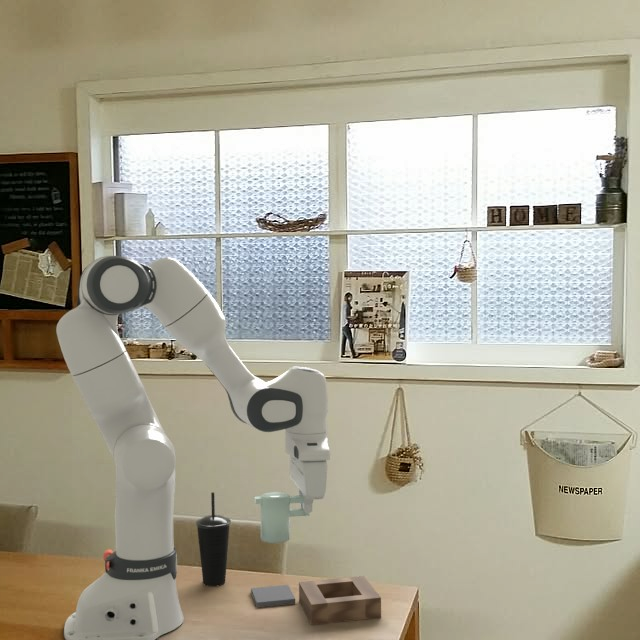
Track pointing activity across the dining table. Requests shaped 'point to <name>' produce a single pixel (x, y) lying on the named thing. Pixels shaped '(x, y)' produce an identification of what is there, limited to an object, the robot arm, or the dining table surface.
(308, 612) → the stand
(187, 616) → the dining table surface
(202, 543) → the drinking cup
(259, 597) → the mat
